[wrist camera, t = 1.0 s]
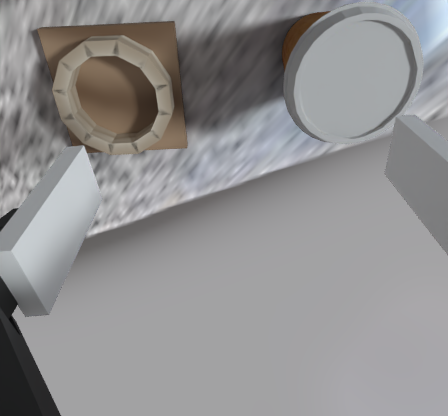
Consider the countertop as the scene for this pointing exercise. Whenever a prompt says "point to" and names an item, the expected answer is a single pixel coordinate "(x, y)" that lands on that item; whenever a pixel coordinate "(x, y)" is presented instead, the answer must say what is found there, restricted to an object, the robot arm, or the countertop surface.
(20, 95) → the countertop surface
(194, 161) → the countertop surface
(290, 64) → the disposable coffee cup
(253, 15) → the countertop surface
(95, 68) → the collar base
